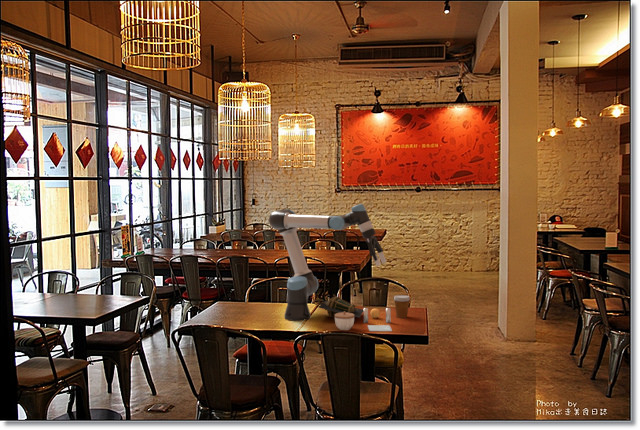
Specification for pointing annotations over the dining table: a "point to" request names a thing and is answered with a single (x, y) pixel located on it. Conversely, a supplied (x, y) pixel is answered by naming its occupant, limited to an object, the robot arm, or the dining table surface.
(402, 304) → the disposable coffee cup
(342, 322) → the lidded jar
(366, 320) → the post left
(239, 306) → the dining table surface
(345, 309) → the lantern
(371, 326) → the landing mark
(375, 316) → the ball
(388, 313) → the post right
